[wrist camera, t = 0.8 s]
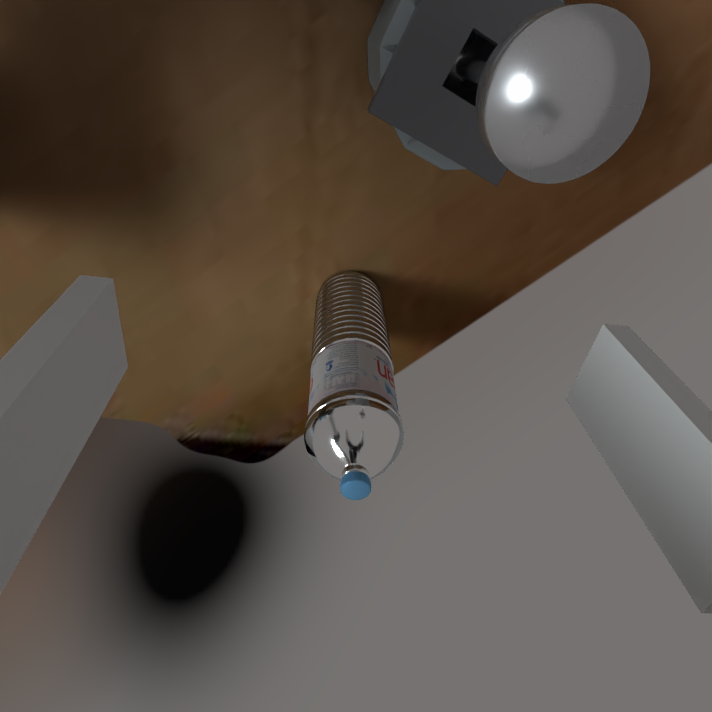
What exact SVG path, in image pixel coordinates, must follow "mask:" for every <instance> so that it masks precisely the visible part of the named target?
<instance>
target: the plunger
mask: <svg viewBox="0 0 712 712" xmlns="http://www.w3.org/2000/svg"><path fill="white" fill-rule="evenodd" d="M649 83H650V60H649V54H648V49H647V46H646V43H645V40H644V38H643V36H642V34H641V32H640V31H639V29H638V28H637V27H636V25H635V24H634V23H633V22H632V21H631V20H630V19H629V18H628V17H627V16H626V15H624V14H623V13H621V12H620V11H618V10H616V9H614V8H611V7H609V6H605V5H600V4H589V3H584V4H572V5H562V6H555V7H550V8H547V9H543V10H541V11H539V12H536V13H534V14H532V15H530V16H529V17H527V18H525V19H524V20H522V21H521V22H519V23H518V24H517V25H516V26H514V27H513V28H512V29H511V30H510V31H509V32H508V33H507V34H506V35H505V36H504V37H503V38H502V40H501V41H500V42H499V43H498V44H497V46H495V45H493V44H492V43H490V42H489V41H487V40H486V39H484V38H483V37H482V36H480V35H479V34H477V33H476V32H474V31H473V30H472V31H471V33H470V35H469V37H468V39H467V41H466V43H465V44H464V46H463V48H462V50H461V52H460V54H459V55H458V57H457V59H456V61H455V63H454V65H453V67H452V68H451V70H450V72H449V74H448V76H447V78H446V80H445V81H444V83H443V85H442V86H443V87H444V88H446V89H448V90H449V91H451V92H452V93H454V94H456V95H457V96H459V97H460V98H462V99H464V100H465V101H467V102H468V103H470V104H472V105H473V106H475V107H476V108H475V111H476V121H477V125H478V130H479V133H480V135H481V138H482V140H483V142H484V144H485V146H486V147H487V149H488V150H489V151H490V153H491V154H492V155H493V156H494V157H495V158H496V159H497V160H498V161H500V162H501V163H502V164H503V165H504V166H505V167H507V168H508V169H509V170H510V171H512V172H513V173H514V174H516V175H517V176H519V177H521V178H523V179H525V180H529V181H532V182H536V183H543V184H553V183H562V182H566V181H570V180H573V179H576V178H578V177H581V176H583V175H585V174H587V173H589V172H591V171H593V170H594V169H596V168H597V167H599V166H600V165H601V164H603V163H604V162H605V161H606V160H608V159H609V158H610V157H611V156H612V155H613V154H614V153H615V152H616V151H617V150H618V149H619V148H620V147H621V145H622V144H623V143H624V142H625V141H626V139H627V138H628V136H629V135H630V134H631V132H632V130H633V129H634V127H635V125H636V123H637V122H638V120H639V117H640V115H641V113H642V111H643V108H644V105H645V102H646V99H647V94H648V89H649Z"/></svg>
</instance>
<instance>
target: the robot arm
mask: <svg viewBox="0 0 712 712" xmlns="http://www.w3.org/2000/svg"><path fill="white" fill-rule="evenodd" d="M127 368H128V365H127V359H126V353H125V347H124V341H123V335H122V329H121V323H120V318H119V312H118V306H117V300H116V294H115V288H114V282H113V278H103V277H93V276H82V275H80V276H79V277H78V278H77V279H76V280H75V281H74V282H73V284H72V285H71V286H70V287H69V288H68V289H67V290H66V291H65V292H64V293H63V294H62V295H61V296H60V297H59V298H58V299H57V300H56V302H55V303H54V304H53V305H52V306H51V307H50V308H49V309H48V310H47V311H46V312H45V313H44V314H43V315H42V316H41V317H40V318H39V320H38V321H37V322H36V323H35V324H34V325H33V326H32V327H31V328H30V329H29V330H28V331H27V332H26V333H25V334H24V335H23V336H22V338H21V339H20V340H19V341H18V342H17V343H16V344H15V345H14V346H13V347H12V348H11V349H10V350H9V351H8V352H7V353H6V355H5V356H4V357H3V358H2V359H1V360H0V595H1V593H2V591H3V589H4V587H5V586H6V584H7V582H8V580H9V578H10V577H11V575H12V573H13V571H14V570H15V568H16V566H17V564H18V562H19V561H20V559H21V557H22V555H23V554H24V552H25V550H26V548H27V546H28V544H29V543H30V541H31V539H32V537H33V536H34V534H35V532H36V530H37V529H38V527H39V525H40V523H41V522H42V519H43V518H44V516H45V514H46V512H47V511H48V509H49V507H50V505H51V504H52V502H53V500H54V498H55V496H56V495H57V493H58V491H59V489H60V487H61V486H62V484H63V482H64V480H65V479H66V477H67V475H68V473H69V471H70V470H71V468H72V466H73V464H74V463H75V461H76V459H77V457H78V455H79V454H80V452H81V450H82V448H83V446H84V445H85V443H86V441H87V439H88V438H89V436H90V434H91V432H92V430H93V429H94V427H95V425H96V423H97V421H98V420H99V418H100V416H101V414H102V413H103V411H104V409H105V407H106V405H107V404H108V402H109V400H110V398H111V397H112V395H113V393H114V391H115V389H116V388H117V386H118V384H119V382H120V380H121V379H122V377H123V375H124V373H125V372H126V370H127ZM566 400H567V401H568V403H569V405H570V406H571V408H572V409H573V411H574V413H575V414H576V416H577V417H578V419H579V421H580V422H581V424H582V425H583V427H584V428H585V430H586V432H587V433H588V435H589V436H590V438H591V439H592V441H593V443H594V444H595V446H596V447H597V449H598V451H599V452H600V454H601V455H602V457H603V458H604V460H605V462H606V463H607V465H608V466H609V468H610V470H611V471H612V473H613V474H614V476H615V477H616V479H617V481H618V482H619V484H620V485H621V487H622V489H623V490H624V492H625V493H626V495H627V496H628V498H629V500H630V501H631V503H632V504H633V506H634V507H635V509H636V511H637V512H638V514H639V515H640V517H641V518H642V520H643V522H644V523H645V525H646V526H647V528H648V530H649V531H650V533H651V534H652V536H653V537H654V539H655V540H656V542H657V544H658V545H659V547H660V549H661V550H662V552H663V553H664V555H665V556H666V558H667V560H668V561H669V563H670V564H671V566H672V568H673V569H674V571H675V572H676V574H677V575H678V577H679V579H680V580H681V582H682V583H683V585H684V586H685V588H686V590H687V591H688V593H689V594H690V596H691V598H692V599H693V601H694V602H695V604H696V606H697V607H698V609H699V610H700V612H701V613H712V411H711V410H710V409H709V408H708V407H707V406H706V405H705V404H704V403H703V402H702V401H701V400H700V399H699V398H698V397H697V396H696V395H695V394H694V393H693V392H692V391H691V390H690V389H689V388H688V387H687V386H686V385H685V384H684V383H683V382H682V381H681V380H680V379H679V378H678V377H677V376H676V375H675V374H674V373H673V372H672V371H671V369H670V368H669V367H667V365H666V364H665V363H664V362H663V361H662V360H661V359H660V358H659V357H657V355H656V354H655V353H654V352H653V351H652V350H651V349H650V348H649V347H648V346H647V345H646V344H645V343H644V342H643V341H642V340H641V339H640V338H639V337H638V336H637V335H636V334H635V333H634V332H633V331H632V330H631V329H630V328H629V327H628V326H619V325H608V324H603V325H602V327H601V329H600V331H599V333H598V336H597V337H596V339H595V341H594V344H593V346H592V347H591V349H590V351H589V354H588V355H587V358H586V359H585V361H584V364H583V365H582V367H581V369H580V371H579V374H578V375H577V377H576V379H575V381H574V383H573V385H572V387H571V389H570V391H569V393H568V395H567V397H566Z"/></svg>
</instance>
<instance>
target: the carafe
mask: <svg viewBox="0 0 712 712" xmlns="http://www.w3.org/2000/svg"><path fill="white" fill-rule="evenodd" d="M562 5H566V4H565V3H564V0H385V1H384V3H383V5H382V7H381V10H380V11H379V13H378V15H377V17H376V19H375V22H374V24H373V27H372V30H371V32H370V34H369V37H368V39H367V43H368V54H367V61H368V80H369V82H370V84H371V86H372V88H373V90H374V92H375V94H374V96H373V98H372V100H371V103H370V105H369V107H368V112H369V113H371V114H373V115H375V116H376V117H378V118H380V119H381V120H383V121H385V122H387V123H388V124H390V125H392V126H393V127H394V129H395V131H396V133H397V135H398V136H399V138H400V140H401V142H402V144H403V146H404V147H405V148H406V149H407V150H409V151H411V152H413V153H414V154H416V155H418V156H420V157H421V158H423V159H425V160H427V161H429V162H430V163H432V164H434V165H436V166H437V167H439V168H441V169H443V170H457V169H468V170H470V171H472V172H473V173H475V174H477V175H478V176H480V177H482V178H484V179H485V180H487V181H489V182H491V183H492V184H494V185H496V186H497V185H498V183H499V182H500V180H501V179H502V177H503V176H504V174H505V173H506V171H507V170H508V168H507V167H505V166H504V165H503V164H502V163H501V162H500V161H498V160H497V159H496V158H495V157H494V156H493V155H492V154H491V153H490V151H489V150H488V149H487V147H486V146H485V144H484V142H483V140H482V138H481V135H480V133H479V130H478V125H477V121H476V111H475V108H476V107H475V106H473V105H472V104H470V103H468V102H467V101H465V100H464V99H462V98H460V97H459V96H457V95H456V94H454V93H452V92H451V91H449V90H448V89H446V88H444V87H443V86H442V85H443V83H444V81H445V80H446V78H447V76H448V74H449V72H450V70H451V68H452V67H453V65H454V63H455V61H456V59H457V57H458V55H459V54H460V52H461V50H462V48H463V46H464V44H465V43H466V41H467V39H468V37H469V35H470V33H471V31H472V30H473V31H474V32H476V33H477V34H479V35H480V36H482V37H483V38H484V39H486V40H487V41H489V42H490V43H492V44H493V45H495V46H497V44H498V43H499V42H500V41H501V40H502V38H503V37H504V36H505V35H506V34H507V33H508V32H509V31H510V30H511V29H512V28H513V27H514V26H516V25H517V24H518V23H519V22H521V21H522V20H524V19H525V18H527V17H529V16H530V15H532V14H534V13H536V12H539V11H541V10H543V9H547V8H550V7H555V6H562Z"/></svg>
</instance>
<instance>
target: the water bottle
mask: <svg viewBox="0 0 712 712" xmlns="http://www.w3.org/2000/svg"><path fill="white" fill-rule="evenodd" d="M310 376H311V383H310V396H309V409H308V417H307V419H306V423H305V432H304V441H305V446H306V450H307V452H308V454H309V456H310V457H311V459H312V460H313V461H314V463H315V464H316V465H317V466H318V467H319V468H320V469H321V470H323V471H324V472H325V473H326V474H328V475H330V476H331V477H333V478H335V479H337V480H340V481H341V484H340V489H341V493H342V495H343V496H344V497H346V498H348V499H351V500H360V499H363V498H365V497H367V496H368V495H369V494H370V492H371V482H370V480H371V479H373V478H375V477H377V476H379V475H380V474H381V473H383V472H384V471H385V470H386V469H387V468H388V467H389V466H390V465H391V464H392V463H393V462H394V461H395V459H396V458H397V456H398V455H399V453H400V451H401V449H402V445H403V440H404V431H403V425H402V420H401V417H400V414H399V412H398V406H397V398H396V392H395V385H394V378H393V362H392V355H391V349H390V343H389V335H388V329H387V323H386V317H385V310H384V304H383V298H382V295H381V292H380V290H379V288H378V286H377V284H376V283H375V282H374V281H373V280H372V279H371V278H370V277H368V276H366V275H365V274H362V273H359V272H355V271H344V272H340V273H337V274H335V275H333V276H331V277H330V278H328V279H327V280H326V281H325V282H324V283H323V285H322V286H321V288H320V290H319V292H318V295H317V299H316V308H315V320H314V331H313V342H312V353H311V365H310Z"/></svg>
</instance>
